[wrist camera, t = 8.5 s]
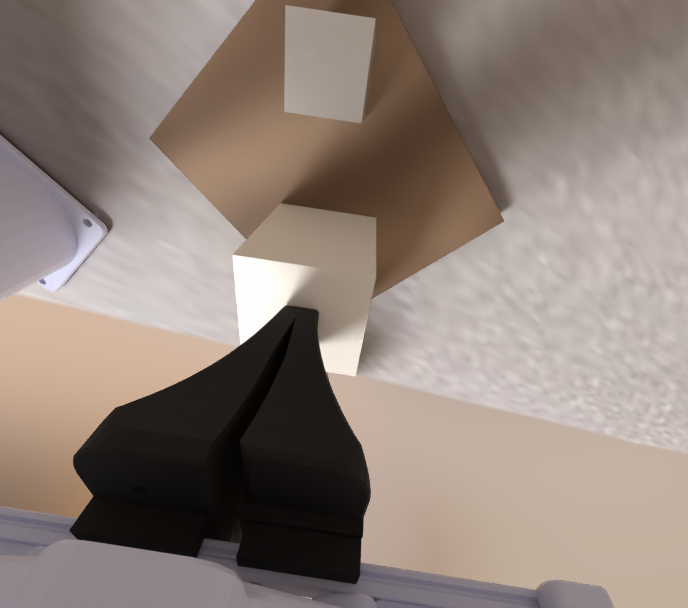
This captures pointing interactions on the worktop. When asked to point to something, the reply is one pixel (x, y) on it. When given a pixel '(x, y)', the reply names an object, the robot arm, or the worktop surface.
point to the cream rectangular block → (310, 277)
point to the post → (328, 63)
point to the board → (331, 144)
